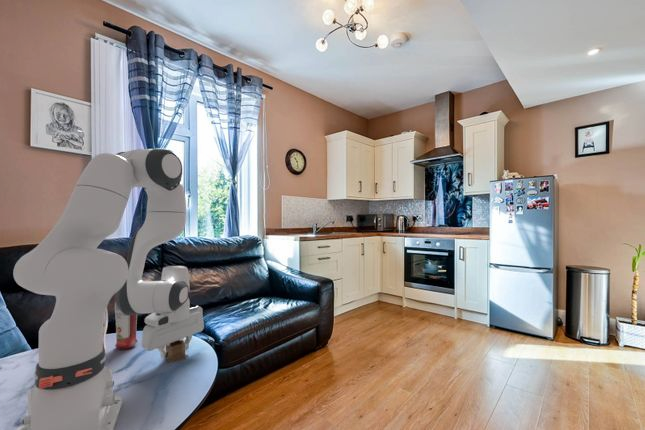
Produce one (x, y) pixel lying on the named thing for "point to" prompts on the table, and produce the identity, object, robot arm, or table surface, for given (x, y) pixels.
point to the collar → (176, 351)
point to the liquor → (125, 329)
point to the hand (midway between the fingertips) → (175, 352)
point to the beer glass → (105, 327)
